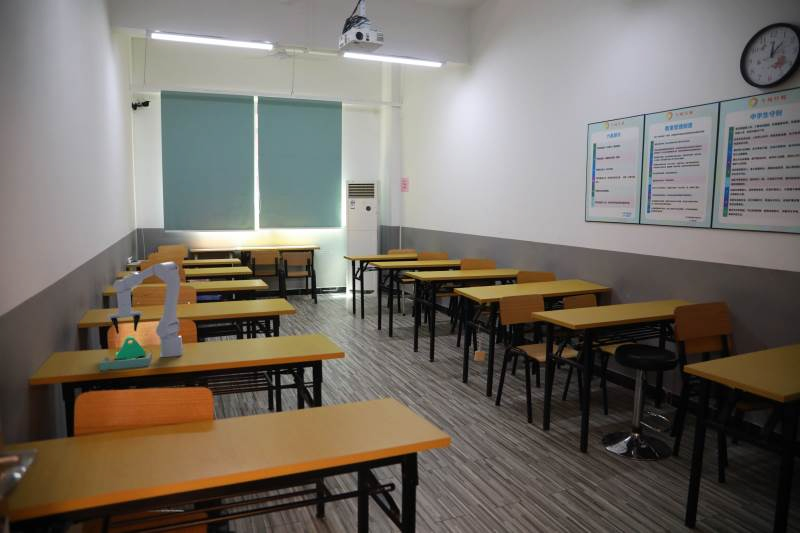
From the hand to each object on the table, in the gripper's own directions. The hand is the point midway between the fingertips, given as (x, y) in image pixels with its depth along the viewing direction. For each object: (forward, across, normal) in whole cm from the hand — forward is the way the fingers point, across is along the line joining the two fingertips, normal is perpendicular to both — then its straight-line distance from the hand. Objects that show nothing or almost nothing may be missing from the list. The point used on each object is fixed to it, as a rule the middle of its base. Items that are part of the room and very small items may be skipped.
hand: (126, 331), depth 259 cm
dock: (+10, +3, +21) cm, 24 cm away
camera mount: (+11, 0, +10) cm, 15 cm away
